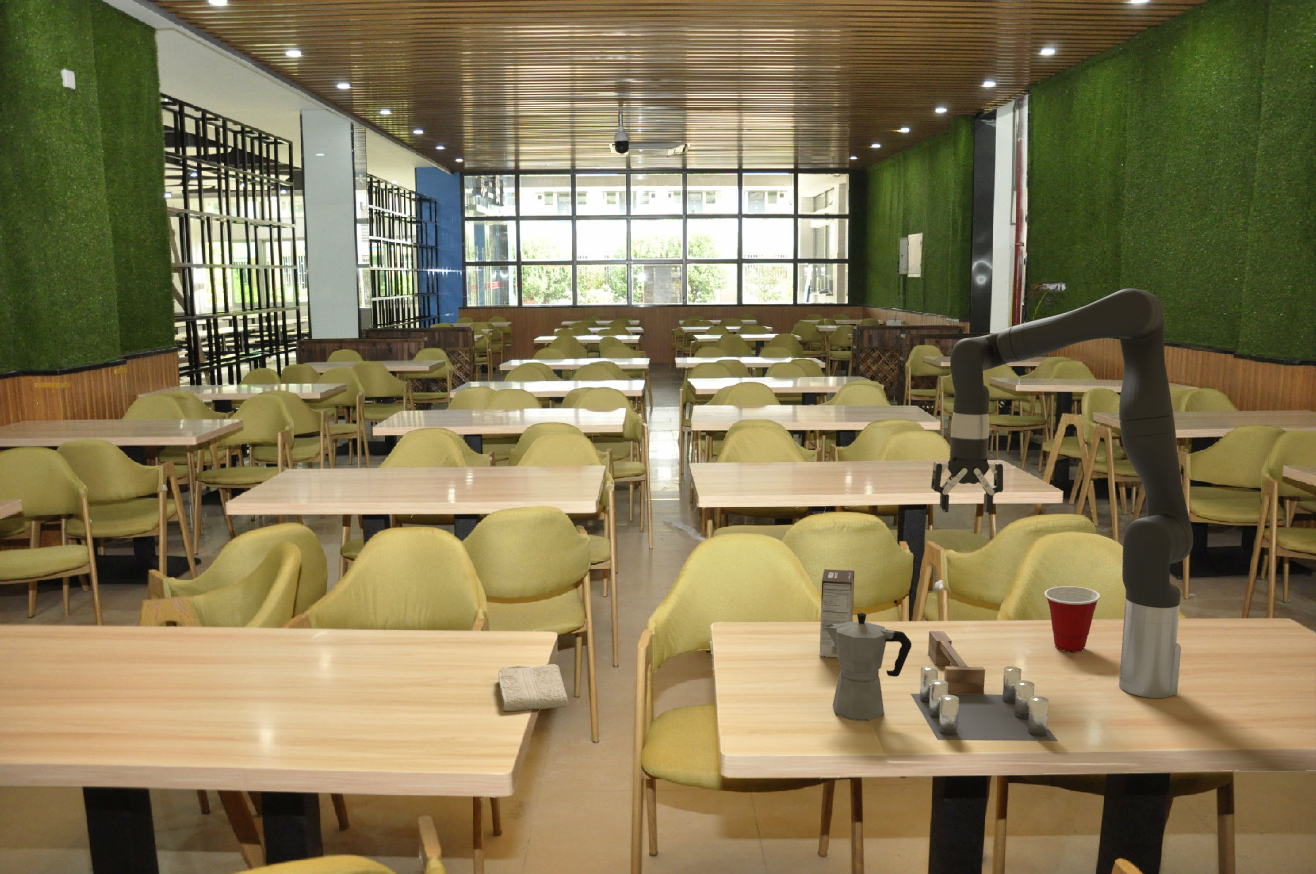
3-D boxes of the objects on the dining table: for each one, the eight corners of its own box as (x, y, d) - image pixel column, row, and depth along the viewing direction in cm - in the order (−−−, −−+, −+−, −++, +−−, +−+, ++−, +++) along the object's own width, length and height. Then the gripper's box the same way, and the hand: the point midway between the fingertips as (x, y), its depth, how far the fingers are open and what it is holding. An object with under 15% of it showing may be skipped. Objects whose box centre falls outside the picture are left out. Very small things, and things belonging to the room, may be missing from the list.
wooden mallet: (952, 654, 222) (953, 631, 221) (983, 695, 200) (985, 669, 200) (918, 654, 222) (919, 630, 221) (945, 695, 201) (947, 669, 200)
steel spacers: (1016, 697, 199) (1018, 666, 198) (1049, 736, 182) (1051, 702, 181) (917, 696, 199) (919, 665, 198) (941, 735, 182) (943, 701, 181)
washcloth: (558, 674, 210) (557, 659, 210) (570, 710, 193) (570, 693, 193) (496, 679, 208) (495, 663, 207) (503, 715, 191) (503, 699, 190)
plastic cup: (1030, 642, 230) (1033, 587, 229) (1072, 637, 234) (1076, 583, 232) (1063, 659, 220) (1067, 601, 218) (1107, 654, 223) (1111, 597, 222)
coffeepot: (814, 714, 191) (817, 615, 189) (829, 695, 200) (832, 601, 197) (902, 729, 185) (906, 627, 182) (913, 710, 193) (917, 612, 191)
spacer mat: (1019, 696, 200) (1019, 694, 200) (1058, 742, 180) (1058, 740, 180) (910, 695, 200) (910, 693, 200) (937, 741, 180) (937, 739, 180)
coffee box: (821, 642, 229) (823, 568, 227) (852, 644, 228) (854, 569, 225) (818, 656, 220) (821, 579, 218) (851, 659, 219) (853, 582, 217)
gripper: (998, 432, 227) (994, 508, 229) (930, 431, 227) (927, 507, 229) (1010, 437, 220) (1005, 516, 222) (939, 437, 220) (935, 515, 222)
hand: (965, 511), depth 226 cm, fingers open, 8 cm apart
